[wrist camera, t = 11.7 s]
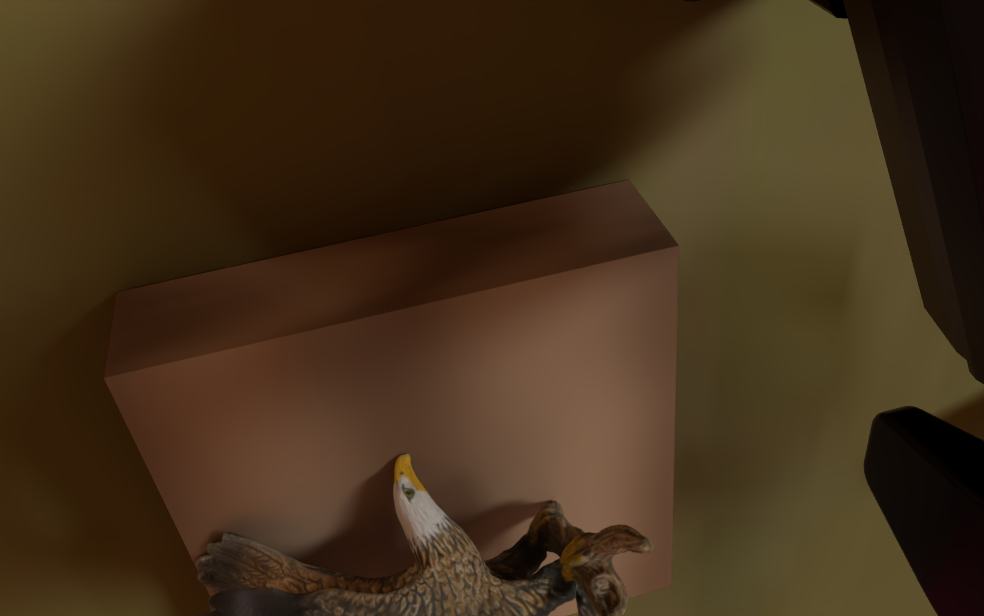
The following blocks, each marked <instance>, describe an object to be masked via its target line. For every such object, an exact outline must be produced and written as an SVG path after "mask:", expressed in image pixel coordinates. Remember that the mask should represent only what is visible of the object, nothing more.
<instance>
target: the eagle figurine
mask: <svg viewBox="0 0 984 616" xmlns="http://www.w3.org/2000/svg"><path fill="white" fill-rule="evenodd" d="M393 496H394V503H395V509H396V514H397V516H398V519H399V521H400V523H401V525H402V528H403V530H404V533H405V535H406V537H407V539H408V541H409V544H410V547H411V551H412V554H413V556H414V558H415V561H414V563H413V564H412V565H411V566H409V567H408V568H406V569H404V570H403V571H401V572H398V573H396V574H394V575H391V576H387V577H380V578H364V577H360V576H355V575H349V574H344V573H341V572H337V571H333V570H329V569H325V568H322V567H319V566H316V565H310V564H305V563H302V562H300V561H298V560H297V559H295V558H292V557H290V556H287V555H285V554H283V553H281V552H279V551H277V550H275V549H273V548H270V547H267V546H265V545H263V544H261V543H259V542H257V541H255V540H253V539H250V538H248V537H244V536H241V535H238V534H235V533H232V532H227V533H224V535H223V537H222V541H218V542H211V543H209V544H208V545H207V547H206V548H207V552H208V553H209V554H210V555H204V556H201V557H199V558H198V559H197V560H196V563H195V565H196V566H197V567H198V568H199V569H201V570H202V571H201V572H200V573H199V574H198V580H199V581H200V582H201V583H202V584H203V585H205V586H207V587H210V588H213V589H215V590H216V591H215V592H214V595H212V596H210V598H209V599H208V605H209V608H210V610H211V611H210V612H206V613H203V614H201V615H197V616H548V615H549V614H550V612H552V611H554V610H555V609H556V608H557V607H558V606H560V605H562V604H564V603H565V602H569V601H572V600H574V599H575V598H576V602H577V608H578V614H579V616H621V615H623V613H624V612H625V611H626V610H627V605H628V595H627V591H626V588H625V586H624V584H623V582H622V580H621V579H620V577H619V576H618V574H617V573H616V571H615V569H614V567H613V565H612V559H613V557H614V556H615V555H618V554H621V553H625V552H629V551H631V552H633V553H640V554H647V553H650V552H651V551H652V550H653V547H654V546H653V544H652V542H651V541H650V540H649V539H648V538H647V537H645V536H643V535H642V534H641V533H640V532H638V531H637V530H635V529H634V528H632V527H630V526H628V525H620V524H618V525H613V526H609V527H607V528H605V529H602V530H601V531H600V532H598V533H591V532H587V533H585V532H584V531H583V530H582V529H579V528H578V527H575V526H573V525H571V524H570V523H569V522H568V520H567V519H566V518H565V516H564V513H563V509H562V507H561V505H560V503H558V502H557V501H551V503H548V504H544V505H542V506H541V508H540V512H538V513H537V514H536V516H535V517H534V519H533V520H532V522H531V524H530V526H529V529H528V532H527V533H526V534H525V535H523V536H522V537H521V538H520V540H519V541H518V542H517V543H516V544H515V545H514V546H513V547H511V548H510V549H507V550H504V551H503V552H502V553H500V554H499V555H498V556H496V557H494V558H493V559H489V560H485V561H484V560H483V557H482V556H481V554H480V553H479V551H478V550H477V548H476V547H475V545H474V544H473V542H472V541H471V540H470V538H469V537H468V536H467V534H466V533H465V532H464V530H463V529H462V528H461V527H459V526H458V525H457V524H456V523H455V522H454V521H453V520H451V519H450V518H449V517H448V516H447V515H446V514H445V513H444V512H443V511H442V510H441V509H440V508H439V507H438V506H437V505H436V503H435V502H434V501H433V499H432V498H431V497H430V495H429V494H428V492H427V491H426V490H425V488H424V487H423V485H422V484H421V483H420V481H419V480H418V478H417V476H416V475H415V473H414V471H413V469H412V466H411V458H410V455H409V454H402V455H400V456H399V457H398V458H397V460H396V463H395V468H394V487H393ZM547 552H553V553H555V554H557V555H558V556H559V557H560V558H559V559H557V560H555V561H554V562H552V563H549V564H547V565H544V566H543V567H541V568H540V569H539V567H540V565H541V563H542V562H543V561H544V560H545V559H546V557H547ZM538 569H539V570H538ZM537 570H538V571H537ZM536 571H537V572H536ZM535 572H536V573H535ZM533 573H534V574H533Z"/></svg>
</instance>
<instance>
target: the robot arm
mask: <svg viewBox="0 0 984 616" xmlns="http://www.w3.org/2000/svg"><path fill="white" fill-rule="evenodd" d="M684 1H698V0H684ZM809 1H811V2H812V3H814V4H815V5H817V6H819V7H820V8H822V9H824V10H825V11H827V12H828V13H830V14H832V15H833V16H835V17H836V18H845V19H846V18H848V21H849V25H850V29H851V32H852V36H853V40H854V44H855V48H856V51H857V55H858V59H859V63H860V66H861V70H862V74H863V78H864V82H865V85H866V89H867V93H868V97H869V100H870V104H871V108H872V112H873V115H874V119H875V123H876V127H877V131H878V134H879V138H880V142H881V146H882V149H883V153H884V157H885V161H886V165H887V168H888V172H889V176H890V180H891V183H892V187H893V191H894V195H895V199H896V202H897V206H898V210H899V214H900V217H901V221H902V225H903V229H904V232H905V236H906V240H907V244H908V248H909V251H910V255H911V259H912V263H913V266H914V270H915V274H916V278H917V282H918V285H919V289H920V293H921V297H922V300H923V304H924V308H925V309H926V310H927V312H928V313H929V315H930V316H931V317H932V319H933V320H934V321H935V323H936V324H937V326H938V327H939V328H940V330H941V331H942V332H943V334H944V335H945V337H946V338H947V339H948V341H949V342H950V343H951V345H952V346H953V348H954V349H955V350H956V352H957V353H959V354H960V355H961V356H962V357H963V358H965V359H966V360H967V363H968V367H969V371H970V373H971V374H972V375H973V376H974V378H975V379H976V380H978V381H979V382H981V383H983V384H984V0H809ZM864 473H865V477H866V480H867V483H868V485H869V487H870V489H871V491H872V493H873V495H874V497H875V499H876V501H877V503H878V505H879V507H880V508H881V510H882V512H883V514H884V516H885V518H886V520H887V522H888V524H889V526H890V528H891V530H892V532H893V534H894V535H895V537H896V539H897V541H898V543H899V545H900V547H901V549H902V551H903V553H904V555H905V557H906V559H907V560H908V562H909V564H910V566H911V568H912V570H913V572H914V574H915V576H916V578H917V580H918V582H919V584H920V585H921V587H922V589H923V591H924V593H925V594H926V596H927V598H928V600H929V602H930V603H931V605H932V607H933V608H934V610H935V611H936V613H937V615H938V616H984V441H983V440H981V439H979V438H977V437H975V436H973V435H971V434H969V433H967V432H965V431H963V430H961V429H959V428H957V427H955V426H953V425H951V424H949V423H947V422H945V421H943V420H941V419H939V418H937V417H935V416H933V415H931V414H929V413H927V412H925V411H923V410H922V409H919V408H916V407H913V406H904V407H900V408H896V409H892V410H889V411H885V412H881V413H879V414H877V415H876V417H875V418H874V419H873V422H872V425H871V430H870V435H869V440H868V445H867V450H866V455H865V460H864Z"/></svg>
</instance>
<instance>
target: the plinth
mask: <svg viewBox="0 0 984 616" xmlns="http://www.w3.org/2000/svg"><path fill="white" fill-rule="evenodd" d="M678 259H679V245H678V244H677V242H676V241H675V240H674V238H673V237H672V236H671V234H670V233H669V232H668V230H667V229H666V228H665V226H664V225H663V224H662V223H661V221H660V220H659V219H658V217H657V216H656V215H655V213H654V212H653V211H652V209H651V208H650V207H649V205H648V204H647V203H646V201H645V200H644V199H643V197H642V196H641V195H640V193H639V192H638V191H637V189H636V188H635V187H634V185H633V184H632V183H631V181H630V180H625V181H621V182H616V183H612V184H607V185H603V186H598V187H593V188H589V189H584V190H580V191H575V192H571V193H566V194H562V195H557V196H552V197H548V198H543V199H539V200H534V201H530V202H525V203H521V204H516V205H511V206H507V207H502V208H498V209H493V210H489V211H484V212H480V213H475V214H470V215H466V216H461V217H457V218H452V219H448V220H443V221H439V222H434V223H429V224H425V225H420V226H416V227H411V228H407V229H402V230H398V231H393V232H388V233H384V234H379V235H375V236H370V237H366V238H361V239H357V240H352V241H348V242H343V243H338V244H334V245H329V246H325V247H320V248H316V249H311V250H307V251H302V252H297V253H293V254H288V255H284V256H279V257H275V258H270V259H266V260H261V261H256V262H252V263H247V264H243V265H238V266H234V267H229V268H225V269H220V270H215V271H211V272H206V273H202V274H197V275H193V276H188V277H184V278H179V279H174V280H170V281H165V282H161V283H156V284H152V285H147V286H143V287H138V288H133V289H129V290H124V291H120V292H116V298H115V305H114V312H113V318H112V325H111V332H110V339H109V345H108V352H107V359H106V366H105V372H104V380H105V382H106V384H107V386H108V388H109V390H110V392H111V394H112V396H113V398H114V400H115V402H116V404H117V406H118V409H119V411H120V413H121V415H122V417H123V419H124V421H125V423H126V425H127V427H128V429H129V431H130V433H131V435H132V437H133V439H134V441H135V443H136V446H137V448H138V450H139V452H140V454H141V456H142V458H143V460H144V462H145V464H146V466H147V468H148V470H149V472H150V474H151V476H152V478H153V480H154V482H155V485H156V487H157V489H158V491H159V493H160V495H161V497H162V499H163V501H164V503H165V505H166V507H167V509H168V511H169V513H170V515H171V517H172V519H173V521H174V524H175V526H176V528H177V530H178V532H179V534H180V536H181V538H182V540H183V542H184V544H185V546H186V548H187V550H188V552H189V554H190V556H191V558H192V560H193V563H194V565H195V563H196V560H197V559H198V558H199V557H201V556H204V555H210V554H209V553H208V552H207V548H206V547H207V545H208V544H209V543H211V542H218V541H222V537H223V535H224V533H227V532H232V533H235V534H238V535H241V536H244V537H248V538H250V539H253V540H255V541H257V542H259V543H261V544H263V545H265V546H267V547H270V548H273V549H275V550H277V551H279V552H281V553H283V554H285V555H287V556H290V557H292V558H295V559H297V560H298V561H300V562H302V563H305V564H310V565H316V566H319V567H322V568H325V569H329V570H333V571H337V572H341V573H344V574H349V575H355V576H360V577H364V578H380V577H387V576H391V575H394V574H396V573H398V572H401V571H403V570H404V569H406V568H408V567H409V566H411V565H412V564H413V563H414V561H415V558H414V556H413V554H412V551H411V547H410V544H409V541H408V539H407V537H406V535H405V533H404V530H403V528H402V525H401V523H400V521H399V519H398V516H397V514H396V509H395V503H394V496H393V487H394V468H395V463H396V460H397V458H398V457H399V456H400V455H402V454H409V455H410V458H411V466H412V469H413V471H414V473H415V475H416V476H417V478H418V480H419V481H420V483H421V484H422V485H423V487H424V488H425V490H426V491H427V492H428V494H429V495H430V497H431V498H432V499H433V501H434V502H435V503H436V505H437V506H438V507H439V508H440V509H441V510H442V511H443V512H444V513H445V514H446V515H447V516H448V517H449V518H450V519H451V520H453V521H454V522H455V523H456V524H457V525H458V526H459V527H461V528H462V529H463V530H464V532H465V533H466V534H467V536H468V537H469V538H470V540H471V541H472V542H473V544H474V545H475V547H476V548H477V550H478V551H479V553H480V554H481V556H482V557H483V560H484V561H485V560H489V559H493V558H494V557H496V556H498V555H499V554H500V553H502V552H503V551H504V550H507V549H510V548H511V547H513V546H514V545H515V544H516V543H517V542H518V541H519V540H520V538H521V537H522V536H523V535H525V534H526V533H527V532H528V529H529V526H530V524H531V522H532V520H533V519H534V517H535V516H536V514H537V513H538V512H540V508H541V506H542V505H544V504H548V503H551V501H557V502H558V503H560V505H561V507H562V509H563V513H564V516H565V518H566V519H567V520H568V522H569V523H570V524H571V525H573V526H575V527H578V528H579V529H582V530H583V531H584V532H585V533H587V532H591V533H598V532H600V531H601V530H602V529H605V528H607V527H609V526H613V525H618V524H620V525H628V526H630V527H632V528H634V529H635V530H637V531H638V532H640V533H641V534H642V535H643V536H645V537H647V538H648V539H649V540H650V541H651V542H652V544H653V546H654V547H653V550H652V551H651V552H650V553H647V554H640V553H633V552H631V551H629V552H625V553H621V554H618V555H615V556H614V557H613V559H612V565H613V567H614V569H615V571H616V573H617V574H618V576H619V577H620V579H621V580H622V582H623V584H624V586H625V588H626V591H627V595H628V598H631V597H634V596H638V595H642V594H645V593H649V592H652V591H656V590H660V589H663V588H667V587H670V586H671V583H672V537H673V491H674V445H675V398H676V352H677V306H678ZM559 558H560V557H559V556H558V555H557V554H555V553H553V552H547V557H546V559H545V560H544V561H543V562H542V563H541V565H540V567H539V569H540V568H541V567H543V566H544V565H547V564H549V563H552V562H554V561H555V560H557V559H559ZM195 567H196V569H197V571H198V573H200V572H201V571H202V570H201V569H199V568H198V567H197V566H196V565H195ZM539 569H538V570H539ZM538 570H537V571H538ZM537 571H536V572H537ZM536 572H535V573H536ZM533 574H534V573H533ZM205 587H206V589H207V591H208V593H209V595H210V596H212V595H214V592H215V591H216V590H215V589H213V588H210V587H207V586H205ZM577 612H578V608H577V602H576V598H575V599H574V600H572V601H569V602H565V603H564V604H562V605H560V606H558V607H557V608H556V609H555V610H554V611H552V612H550V614H549V615H548V616H566V615H570V614H573V613H577Z"/></svg>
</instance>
